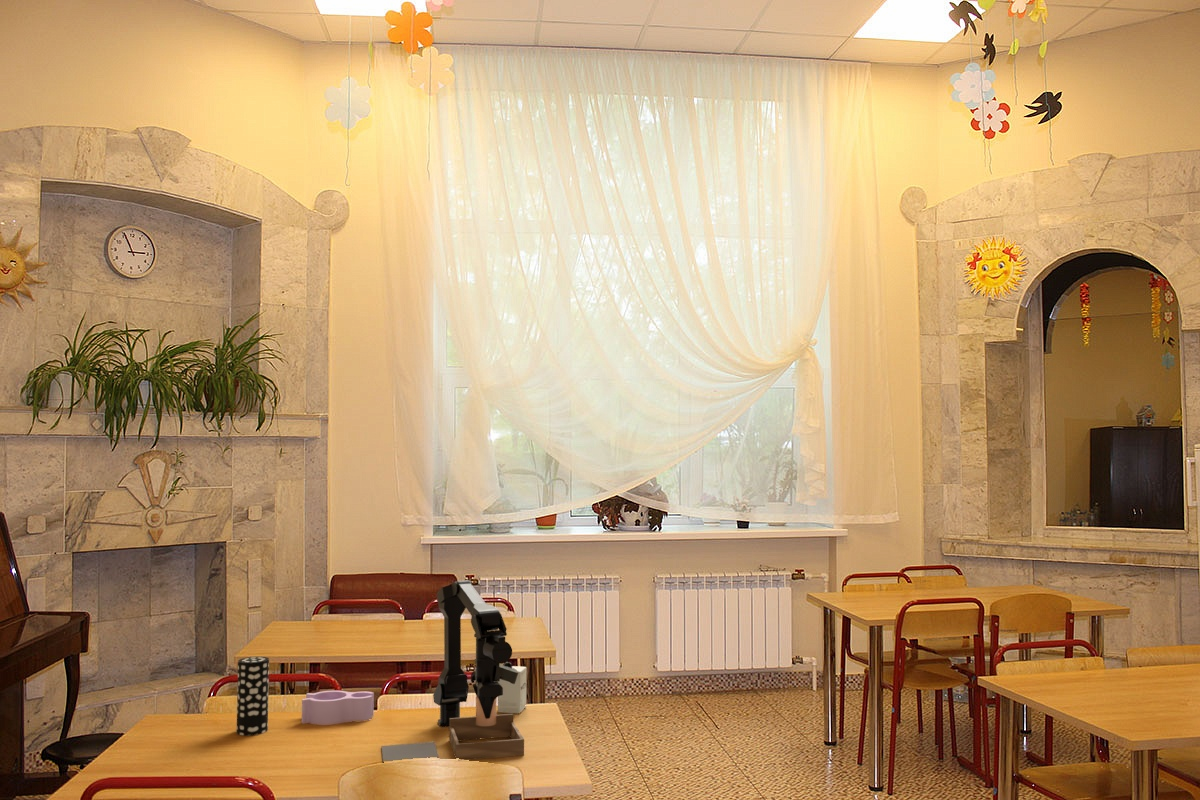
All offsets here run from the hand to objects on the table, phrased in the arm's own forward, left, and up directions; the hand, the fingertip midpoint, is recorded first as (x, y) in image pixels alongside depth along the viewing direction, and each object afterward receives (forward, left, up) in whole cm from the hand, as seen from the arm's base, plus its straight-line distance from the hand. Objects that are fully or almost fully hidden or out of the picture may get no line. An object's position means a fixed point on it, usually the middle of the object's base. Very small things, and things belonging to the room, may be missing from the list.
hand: (486, 715), depth 252 cm
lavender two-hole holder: (-39, -39, -9) cm, 56 cm away
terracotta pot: (0, 0, -2) cm, 2 cm away
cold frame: (0, 0, -8) cm, 8 cm away
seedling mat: (0, -20, -8) cm, 22 cm away
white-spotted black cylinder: (-32, -62, -9) cm, 70 cm away
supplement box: (-35, +13, -9) cm, 38 cm away
